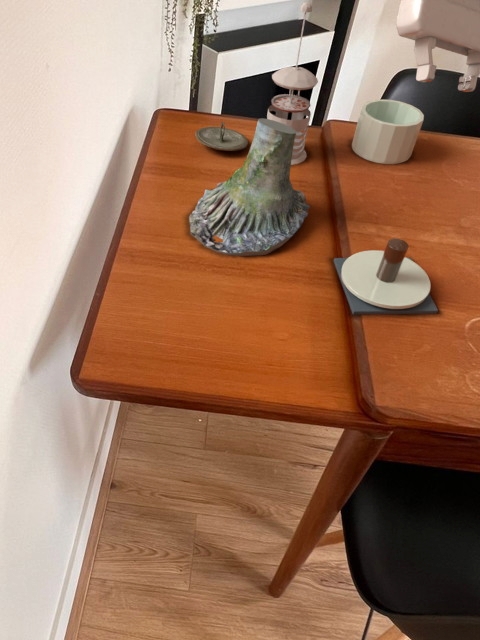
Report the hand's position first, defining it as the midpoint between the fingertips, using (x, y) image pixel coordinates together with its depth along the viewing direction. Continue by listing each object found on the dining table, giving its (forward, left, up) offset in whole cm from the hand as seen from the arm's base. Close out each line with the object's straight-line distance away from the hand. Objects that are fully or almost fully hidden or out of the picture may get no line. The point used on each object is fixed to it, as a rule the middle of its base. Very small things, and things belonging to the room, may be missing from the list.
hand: (445, 86), depth 72 cm
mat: (+7, +16, -22) cm, 28 cm away
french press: (+15, -25, -22) cm, 36 cm away
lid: (+27, -27, -22) cm, 44 cm away
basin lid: (+7, +16, -20) cm, 27 cm away
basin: (-5, -26, -22) cm, 34 cm away
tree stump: (+25, -1, -22) cm, 33 cm away
